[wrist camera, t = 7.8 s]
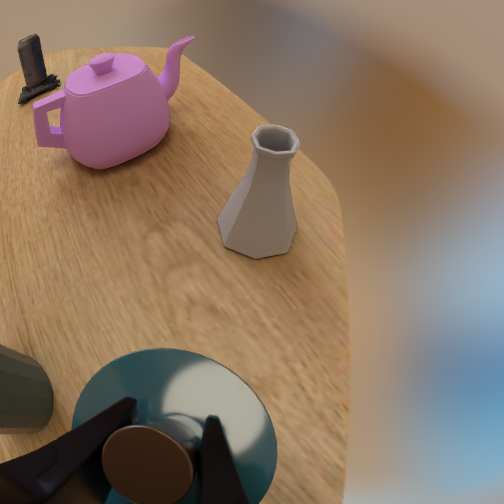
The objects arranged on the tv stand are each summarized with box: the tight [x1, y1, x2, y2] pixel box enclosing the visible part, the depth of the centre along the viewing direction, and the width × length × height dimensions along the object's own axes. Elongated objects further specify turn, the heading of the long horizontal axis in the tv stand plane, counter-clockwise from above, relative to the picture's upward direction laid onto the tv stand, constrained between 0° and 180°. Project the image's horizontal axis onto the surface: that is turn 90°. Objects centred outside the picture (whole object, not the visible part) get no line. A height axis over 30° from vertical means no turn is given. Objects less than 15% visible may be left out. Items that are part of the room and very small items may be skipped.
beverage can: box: [18, 34, 60, 104], centre depth 32 cm, size 9×8×12 cm
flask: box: [217, 125, 300, 259], centre depth 22 cm, size 7×7×10 cm
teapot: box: [33, 36, 194, 169], centre depth 26 cm, size 13×20×11 cm
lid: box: [72, 348, 277, 504], centre depth 7 cm, size 8×8×5 cm
